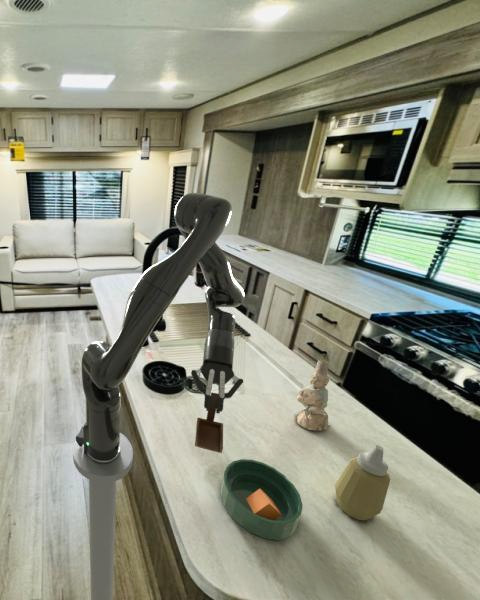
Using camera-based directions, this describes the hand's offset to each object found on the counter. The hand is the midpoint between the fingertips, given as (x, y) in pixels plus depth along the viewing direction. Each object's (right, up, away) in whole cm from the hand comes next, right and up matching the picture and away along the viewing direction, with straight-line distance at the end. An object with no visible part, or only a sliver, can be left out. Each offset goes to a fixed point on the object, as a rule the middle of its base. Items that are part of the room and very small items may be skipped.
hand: (213, 411), depth 81 cm
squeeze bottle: (+27, -18, -11) cm, 34 cm away
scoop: (0, -8, +3) cm, 9 cm away
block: (+5, -15, -12) cm, 20 cm away
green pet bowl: (+6, -18, -10) cm, 21 cm away
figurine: (+35, -8, +13) cm, 38 cm away
